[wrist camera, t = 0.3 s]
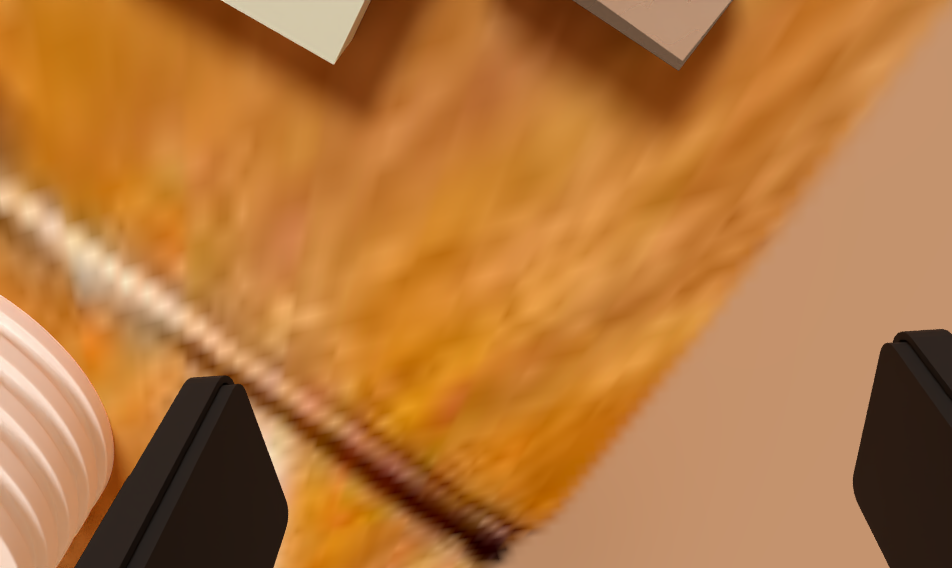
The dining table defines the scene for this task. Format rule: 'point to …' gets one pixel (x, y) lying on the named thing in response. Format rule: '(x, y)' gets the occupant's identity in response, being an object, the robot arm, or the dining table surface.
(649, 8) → the cover
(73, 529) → the plate stack
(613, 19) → the housing base
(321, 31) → the stand
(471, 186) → the dining table surface
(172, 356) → the dining table surface
